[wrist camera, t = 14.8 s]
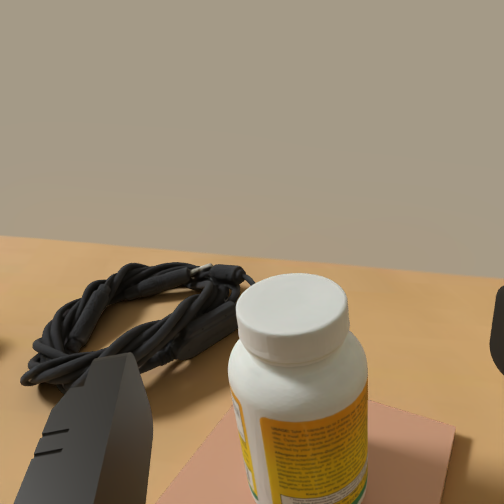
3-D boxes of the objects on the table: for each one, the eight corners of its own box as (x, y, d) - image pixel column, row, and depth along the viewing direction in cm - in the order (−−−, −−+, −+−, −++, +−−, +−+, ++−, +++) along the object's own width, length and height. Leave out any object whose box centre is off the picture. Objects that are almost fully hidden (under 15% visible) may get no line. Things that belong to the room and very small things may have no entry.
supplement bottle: (225, 484, 20) (184, 310, 15) (299, 412, 23) (281, 252, 19) (320, 569, 16) (301, 372, 12) (392, 469, 19) (396, 287, 15)
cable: (63, 458, 23) (35, 399, 21) (0, 353, 33) (-23, 307, 31) (280, 313, 33) (274, 264, 31) (181, 266, 43) (172, 226, 41)
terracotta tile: (396, 710, 13) (396, 701, 13) (138, 537, 18) (134, 529, 18) (454, 435, 21) (455, 426, 21) (263, 374, 27) (261, 366, 26)
